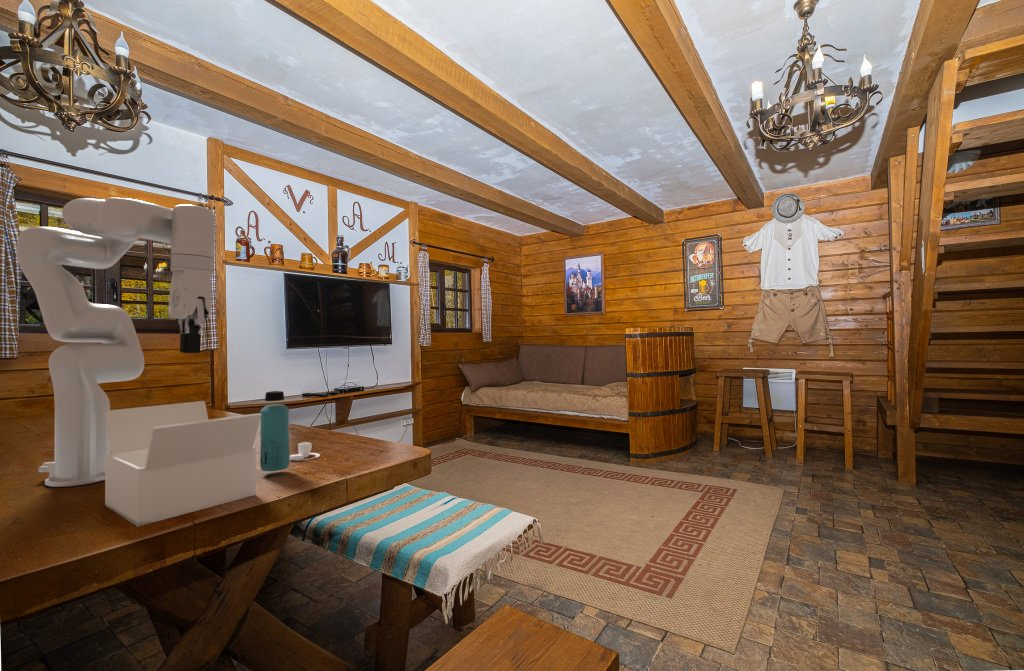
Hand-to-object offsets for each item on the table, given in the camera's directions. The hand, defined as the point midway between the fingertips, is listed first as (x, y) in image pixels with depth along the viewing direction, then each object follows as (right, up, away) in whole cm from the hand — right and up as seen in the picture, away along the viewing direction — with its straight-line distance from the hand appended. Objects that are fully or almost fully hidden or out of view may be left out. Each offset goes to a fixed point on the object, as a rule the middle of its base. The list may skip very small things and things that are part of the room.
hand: (190, 352), depth 98 cm
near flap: (+10, -16, -10) cm, 21 cm away
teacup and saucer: (+7, -31, +30) cm, 43 cm away
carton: (+1, -30, -4) cm, 30 cm away
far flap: (-8, -16, +3) cm, 18 cm away
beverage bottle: (+11, -30, +14) cm, 35 cm away
